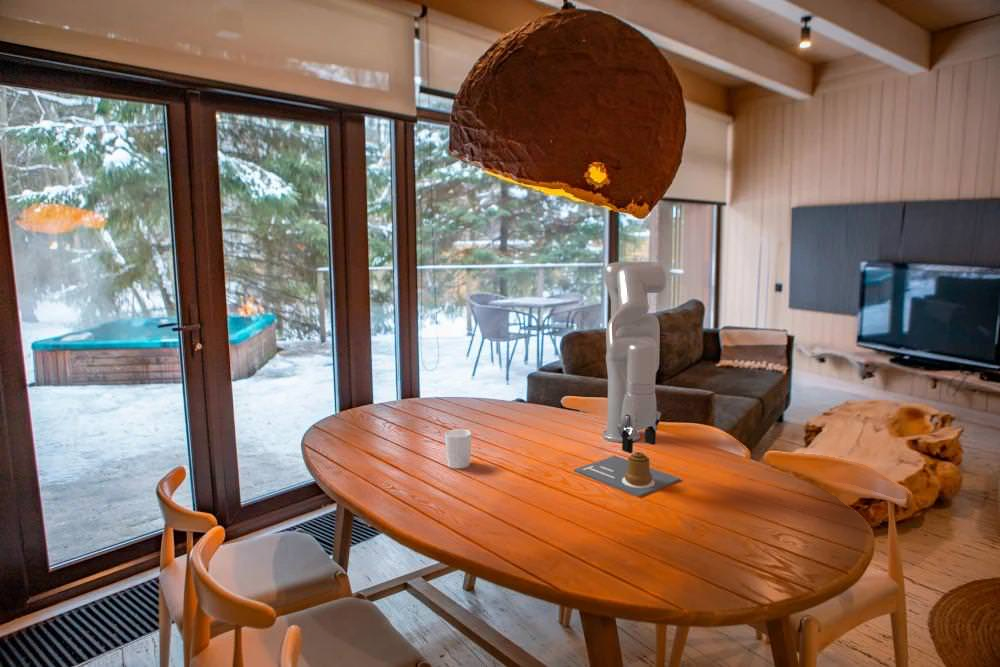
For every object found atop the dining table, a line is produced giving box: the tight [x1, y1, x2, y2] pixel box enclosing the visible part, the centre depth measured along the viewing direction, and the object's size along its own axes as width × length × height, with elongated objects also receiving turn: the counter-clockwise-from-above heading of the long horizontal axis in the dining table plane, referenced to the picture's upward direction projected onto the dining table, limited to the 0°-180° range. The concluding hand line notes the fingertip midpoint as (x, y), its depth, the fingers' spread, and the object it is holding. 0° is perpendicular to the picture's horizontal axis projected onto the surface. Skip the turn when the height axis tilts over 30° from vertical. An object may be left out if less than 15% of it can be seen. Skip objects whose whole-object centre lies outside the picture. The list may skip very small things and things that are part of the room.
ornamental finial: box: [625, 451, 652, 486], centre depth 173 cm, size 8×8×8 cm
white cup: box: [444, 428, 472, 470], centre depth 188 cm, size 8×8×10 cm
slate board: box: [573, 455, 681, 498], centre depth 179 cm, size 18×24×1 cm
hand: (638, 447), depth 173 cm, fingers open, 9 cm apart
